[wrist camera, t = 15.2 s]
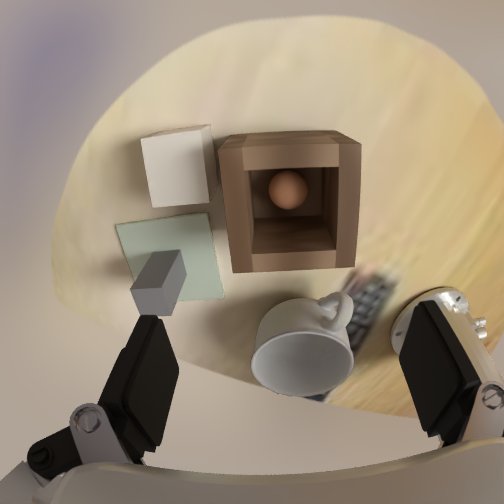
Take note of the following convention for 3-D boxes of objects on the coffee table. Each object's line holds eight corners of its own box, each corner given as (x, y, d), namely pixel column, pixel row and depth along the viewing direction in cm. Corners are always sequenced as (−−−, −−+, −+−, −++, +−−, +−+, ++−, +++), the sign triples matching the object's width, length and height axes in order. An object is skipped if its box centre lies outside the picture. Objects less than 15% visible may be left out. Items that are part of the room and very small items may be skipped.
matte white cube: (211, 124, 26) (200, 129, 22) (218, 185, 29) (209, 202, 24) (160, 131, 26) (140, 138, 22) (169, 190, 29) (152, 207, 25)
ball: (305, 165, 26) (310, 175, 23) (305, 201, 28) (310, 214, 25) (267, 167, 27) (267, 176, 24) (269, 202, 28) (270, 216, 25)
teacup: (301, 360, 40) (305, 407, 33) (236, 326, 37) (230, 376, 30) (376, 295, 34) (397, 342, 27) (311, 247, 32) (323, 292, 25)
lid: (208, 210, 30) (191, 247, 24) (225, 294, 35) (216, 342, 29) (118, 222, 31) (85, 258, 25) (144, 298, 36) (123, 342, 30)
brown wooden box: (335, 130, 26) (361, 144, 19) (335, 225, 30) (354, 266, 23) (230, 135, 26) (217, 149, 19) (240, 230, 31) (232, 273, 24)
